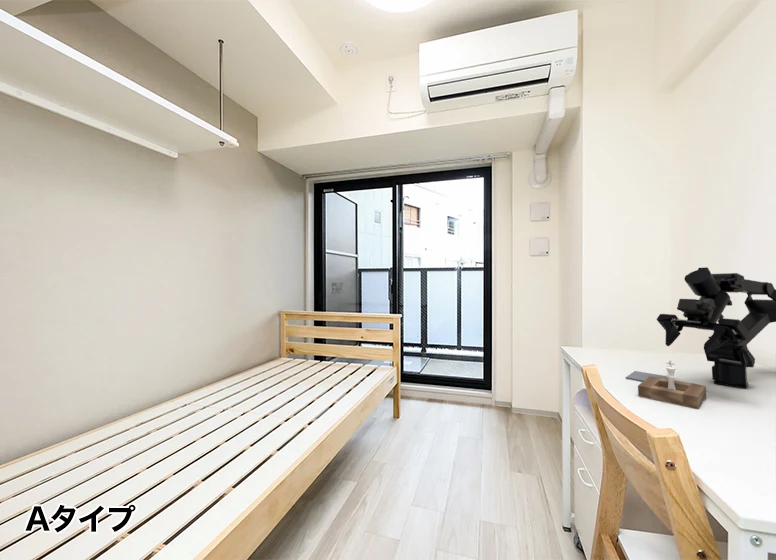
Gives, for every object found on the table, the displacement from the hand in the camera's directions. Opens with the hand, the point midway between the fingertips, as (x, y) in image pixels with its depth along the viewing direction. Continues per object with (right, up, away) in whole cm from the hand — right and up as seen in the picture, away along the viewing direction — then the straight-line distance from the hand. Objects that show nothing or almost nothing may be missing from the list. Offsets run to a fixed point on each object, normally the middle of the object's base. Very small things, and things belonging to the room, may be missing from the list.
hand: (685, 348), depth 87 cm
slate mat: (+1, -13, +13) cm, 18 cm away
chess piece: (-6, -13, -2) cm, 14 cm away
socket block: (-6, -13, -2) cm, 14 cm away
